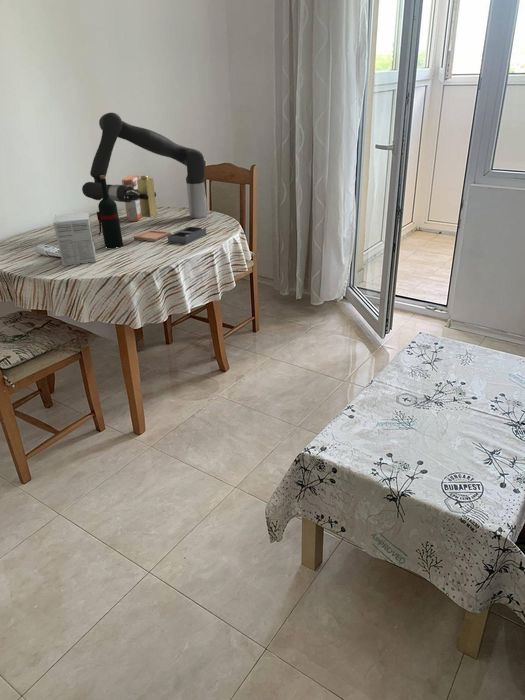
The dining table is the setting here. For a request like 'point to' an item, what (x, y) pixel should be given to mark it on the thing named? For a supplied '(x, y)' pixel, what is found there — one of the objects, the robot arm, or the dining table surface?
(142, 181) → the tan tall block
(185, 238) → the grey tray with studs
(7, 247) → the dining table surface
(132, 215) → the cracker box
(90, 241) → the supplement box
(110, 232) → the wine bottle
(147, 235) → the terracotta dish
